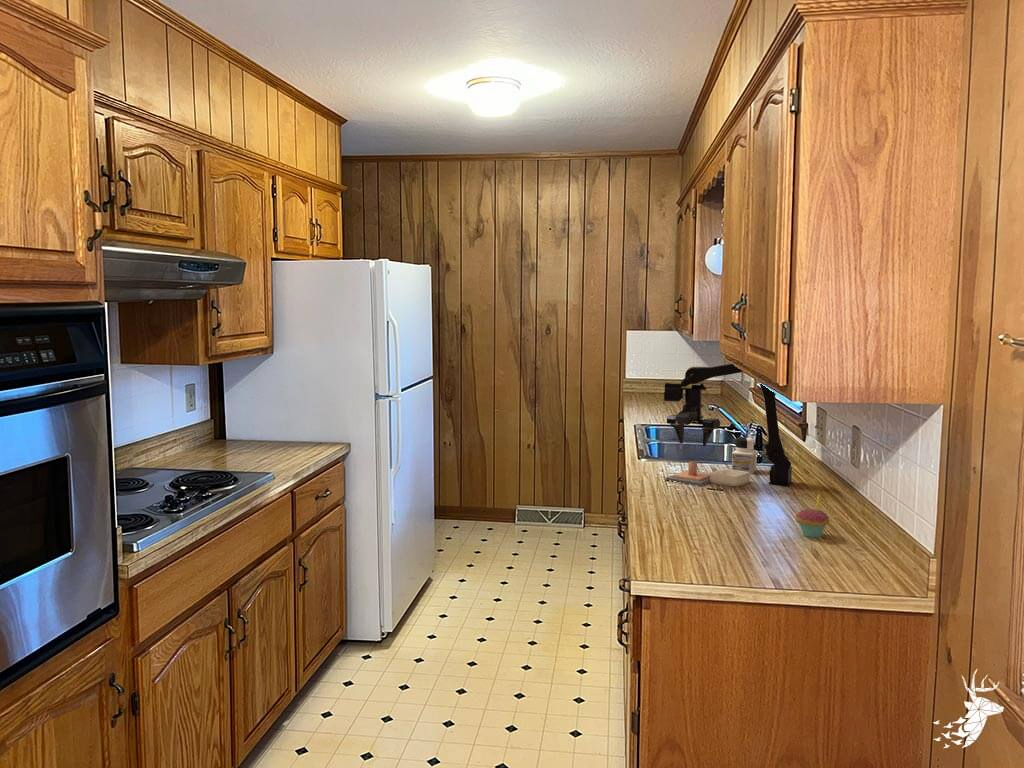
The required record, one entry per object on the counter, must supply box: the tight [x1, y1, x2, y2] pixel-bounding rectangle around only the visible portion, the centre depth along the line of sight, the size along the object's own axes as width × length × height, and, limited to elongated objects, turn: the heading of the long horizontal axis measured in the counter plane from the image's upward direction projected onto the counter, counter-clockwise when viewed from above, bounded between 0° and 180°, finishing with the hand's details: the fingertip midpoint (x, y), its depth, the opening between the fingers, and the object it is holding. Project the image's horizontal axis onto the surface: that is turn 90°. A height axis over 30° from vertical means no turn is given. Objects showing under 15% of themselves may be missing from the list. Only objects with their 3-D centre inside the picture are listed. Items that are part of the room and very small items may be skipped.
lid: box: [671, 461, 710, 481], centre depth 275 cm, size 11×11×5 cm
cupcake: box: [795, 492, 830, 538], centre depth 208 cm, size 9×8×12 cm
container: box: [731, 436, 757, 475], centre depth 288 cm, size 8×8×13 cm
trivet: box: [665, 475, 711, 487], centre depth 276 cm, size 14×14×1 cm
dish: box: [709, 468, 750, 487], centre depth 271 cm, size 10×10×4 cm
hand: (692, 444), depth 275 cm, fingers open, 9 cm apart
